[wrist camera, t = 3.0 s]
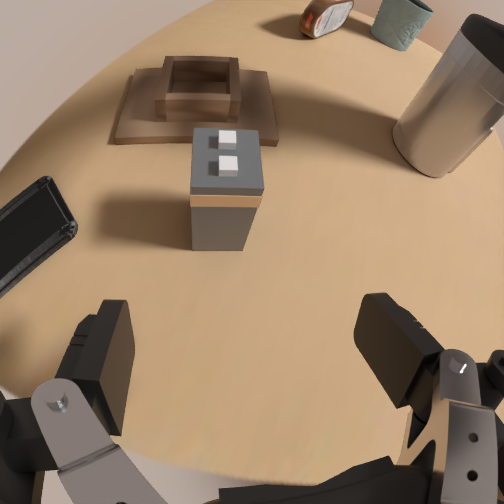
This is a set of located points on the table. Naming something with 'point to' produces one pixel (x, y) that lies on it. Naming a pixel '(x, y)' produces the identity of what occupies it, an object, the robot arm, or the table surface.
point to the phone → (32, 230)
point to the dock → (196, 101)
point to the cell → (224, 187)
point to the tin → (324, 17)
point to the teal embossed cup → (400, 22)
